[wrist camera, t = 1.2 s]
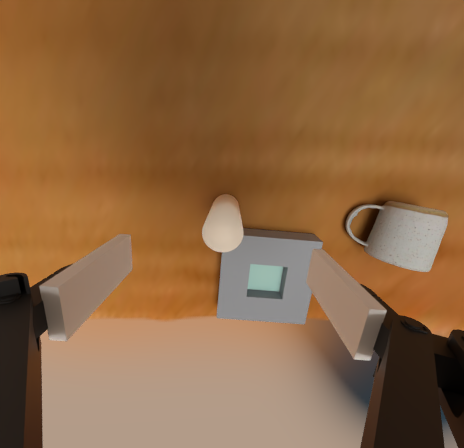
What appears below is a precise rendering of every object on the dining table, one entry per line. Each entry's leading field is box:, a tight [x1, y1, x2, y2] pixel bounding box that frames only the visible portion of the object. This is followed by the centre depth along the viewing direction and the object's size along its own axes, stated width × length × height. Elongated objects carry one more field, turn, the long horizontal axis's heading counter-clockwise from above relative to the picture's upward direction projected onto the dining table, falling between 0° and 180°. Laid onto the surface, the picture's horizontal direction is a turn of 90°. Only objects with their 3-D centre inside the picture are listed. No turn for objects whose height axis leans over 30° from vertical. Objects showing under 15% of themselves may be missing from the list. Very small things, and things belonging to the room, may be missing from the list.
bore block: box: [217, 228, 323, 324], centre depth 33 cm, size 14×14×4 cm
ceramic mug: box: [346, 201, 448, 272], centre depth 29 cm, size 11×8×8 cm
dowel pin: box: [202, 194, 243, 252], centre depth 26 cm, size 4×4×12 cm
